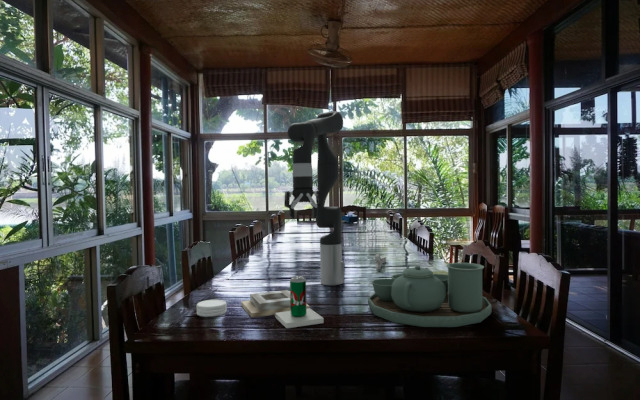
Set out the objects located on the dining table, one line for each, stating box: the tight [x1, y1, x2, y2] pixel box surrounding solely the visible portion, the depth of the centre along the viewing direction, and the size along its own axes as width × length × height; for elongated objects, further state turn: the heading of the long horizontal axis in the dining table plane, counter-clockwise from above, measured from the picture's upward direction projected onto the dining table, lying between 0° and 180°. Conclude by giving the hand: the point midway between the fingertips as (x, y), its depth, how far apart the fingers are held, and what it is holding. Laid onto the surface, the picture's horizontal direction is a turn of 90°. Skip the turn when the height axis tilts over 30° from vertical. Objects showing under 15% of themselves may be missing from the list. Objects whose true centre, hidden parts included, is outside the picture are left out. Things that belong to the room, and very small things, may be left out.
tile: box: [274, 307, 325, 329], centre depth 139 cm, size 12×12×2 cm
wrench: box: [374, 253, 387, 271], centre depth 226 cm, size 8×2×30 cm
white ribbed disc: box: [195, 299, 228, 318], centre depth 149 cm, size 10×10×4 cm
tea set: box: [367, 262, 493, 328], centre depth 148 cm, size 40×40×16 cm
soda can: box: [289, 275, 307, 317], centre depth 139 cm, size 5×5×12 cm
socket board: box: [240, 289, 310, 319], centre depth 153 cm, size 20×16×4 cm
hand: (303, 218), depth 167 cm, fingers open, 8 cm apart
